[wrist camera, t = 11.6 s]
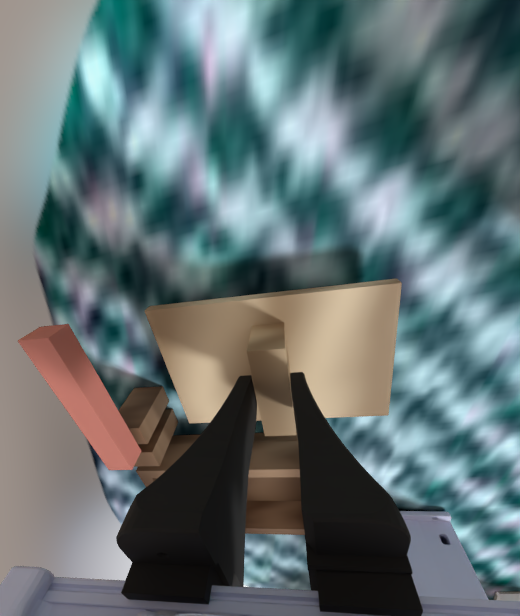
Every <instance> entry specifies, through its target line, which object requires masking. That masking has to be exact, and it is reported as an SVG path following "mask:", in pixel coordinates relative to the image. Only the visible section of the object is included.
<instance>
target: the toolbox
mask: <svg viewBox="0 0 520 616" xmlns="http://www.w3.org/2000/svg"><path fill="white" fill-rule="evenodd" d="M168 402H169V400H168V397H167V395H166V393H165V390H164V388H163V386H160V387H143V388H134V389H133V390H132V392H131V393H130V395H129V396H128V398H127V399H126V401H125V402H124V403H123V405H122V406H121V408H120V409H119V413H120V415H121V416H122V418H123V420H124V421H125V423H126V425H127V427H128V428H129V430H130V432H131V434H132V435H133V437H134V439H135V441H136V442H137V444H138V446H139V448H140V449H141V453H140V455H139V457H138V459H137V461H136V463H135V465H134V466H138V468H137V470H136V472H137V473H138V475H139V477H140V478H141V480H142V481H143V483H144V485H145V486H146V487H147V486H149V485H150V484H151V483H152V482H153V481H155V480H156V479H157V478H158V477H159V476H161V475H162V474H163V473H164V472H165V471H166V470H167V469H168V468H169V467H170V466H171V465H172V464H174V463H175V462H176V461H177V460H178V459H179V458H180V457H181V456H182V455H183V454H184V453H185V452H186V451H187V450H188V448H189V447H190V446H191V445H192V444H193V443H194V442H195V441H196V440H197V438H198V437H199V436H200V435H174V436H173V433H174V431H175V429H176V426H177V424H178V420H177V418H176V416H175V414H174V411H173V409H165V408H166V406H167V404H168ZM245 533H249V534H291V535H305V532H304V524H303V517H302V510H301V488H300V466H299V447H298V437H297V432H296V435H288V436H265V434H264V433H255V434H254V441H253V447H252V454H251V460H250V467H249V475H248V490H247V506H246V525H245Z"/></svg>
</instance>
